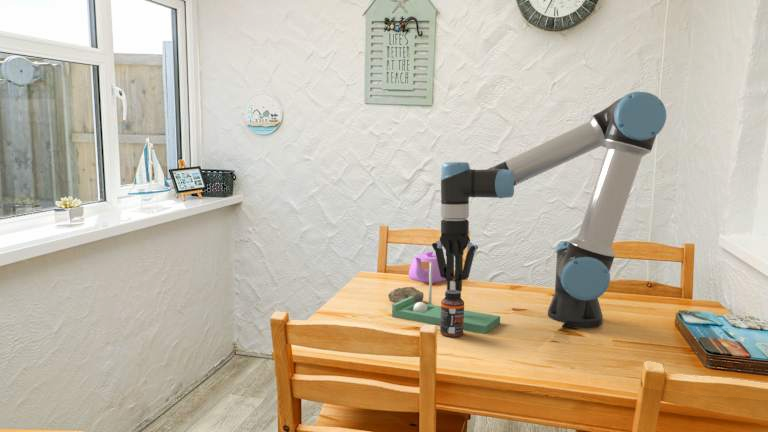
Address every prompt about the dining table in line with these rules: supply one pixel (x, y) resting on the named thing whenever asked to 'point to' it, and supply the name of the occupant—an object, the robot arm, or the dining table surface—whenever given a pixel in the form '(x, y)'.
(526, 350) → the dining table surface
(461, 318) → the supplement bottle
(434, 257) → the teapot
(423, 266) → the pin
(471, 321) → the green
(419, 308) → the ball
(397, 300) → the rock
